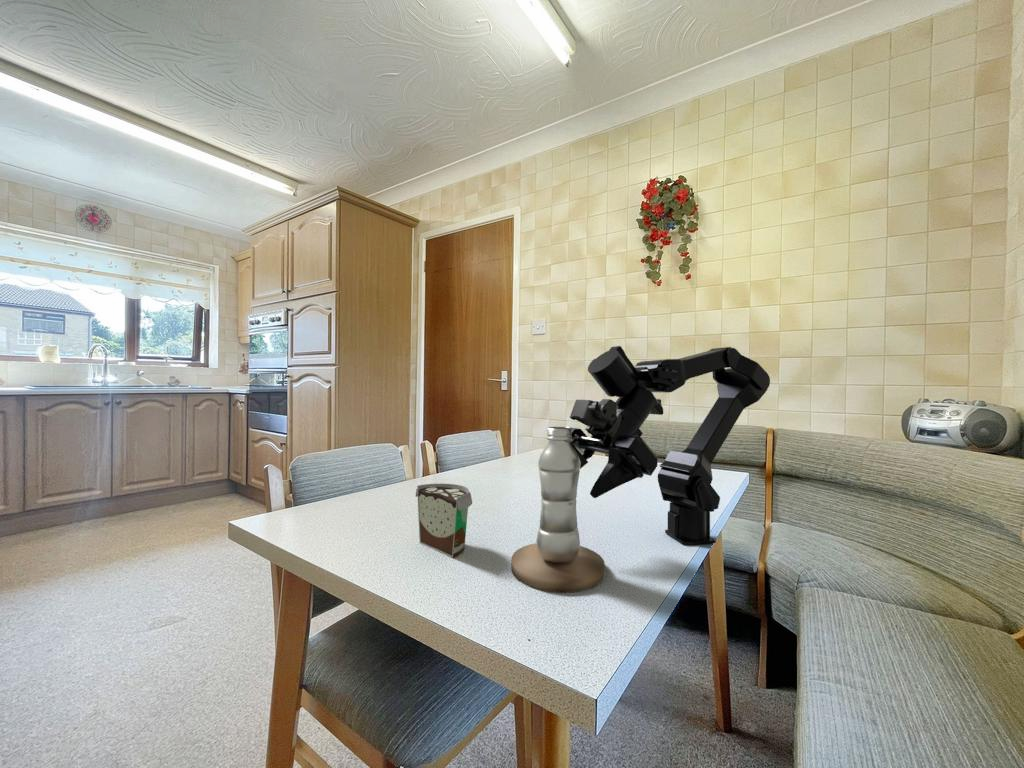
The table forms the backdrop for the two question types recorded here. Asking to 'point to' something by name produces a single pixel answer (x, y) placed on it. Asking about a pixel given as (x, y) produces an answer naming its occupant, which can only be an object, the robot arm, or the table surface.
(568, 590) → the walnut stand
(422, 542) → the food container
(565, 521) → the plastic bottle
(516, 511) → the table surface
